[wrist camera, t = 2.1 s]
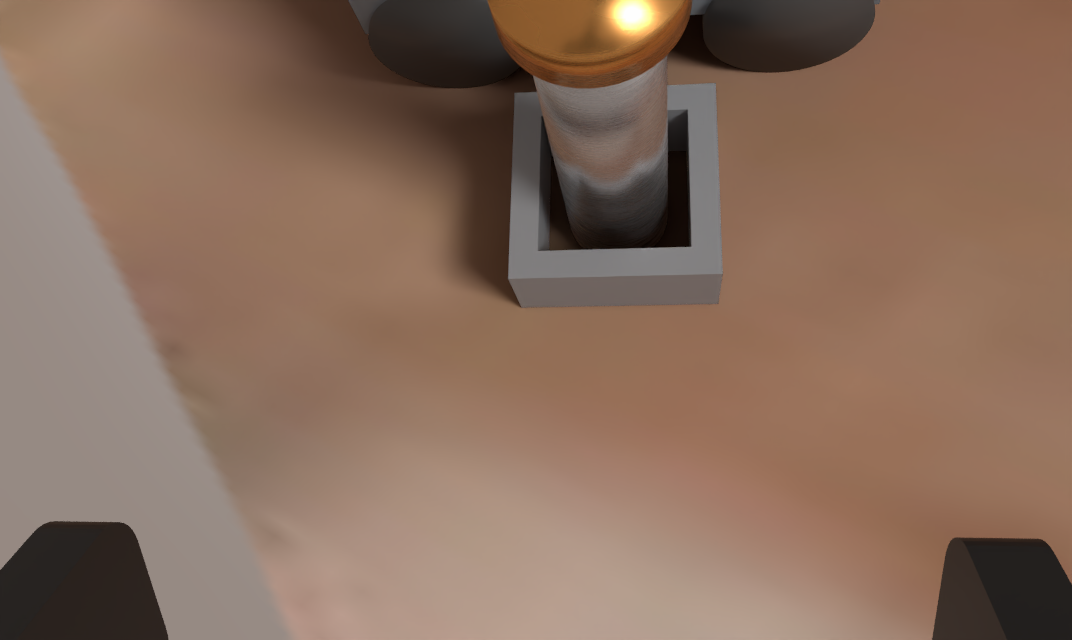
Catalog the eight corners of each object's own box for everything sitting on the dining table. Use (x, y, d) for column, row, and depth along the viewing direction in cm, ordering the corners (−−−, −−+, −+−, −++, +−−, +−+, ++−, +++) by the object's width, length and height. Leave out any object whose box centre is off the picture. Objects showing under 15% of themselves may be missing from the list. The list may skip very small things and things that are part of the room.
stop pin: (683, 153, 30) (691, -133, 18) (686, 275, 28) (696, 47, 17) (554, 158, 30) (486, -117, 19) (551, 278, 29) (477, 59, 18)
